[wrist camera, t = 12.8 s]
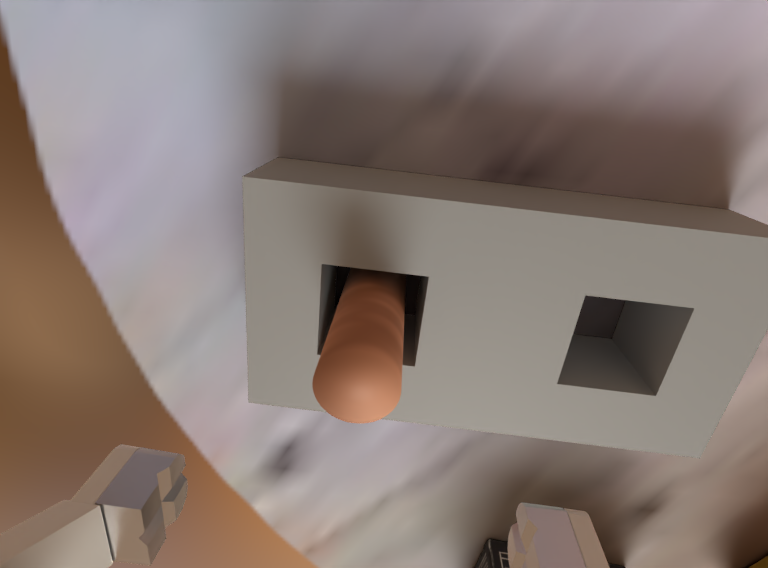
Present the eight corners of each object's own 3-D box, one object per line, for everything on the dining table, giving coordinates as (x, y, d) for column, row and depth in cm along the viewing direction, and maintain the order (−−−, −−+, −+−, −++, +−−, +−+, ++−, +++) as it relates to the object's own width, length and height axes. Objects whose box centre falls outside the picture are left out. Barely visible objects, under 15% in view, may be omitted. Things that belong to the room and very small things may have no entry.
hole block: (728, 209, 22) (813, 243, 17) (650, 393, 26) (699, 458, 22) (278, 157, 22) (242, 176, 17) (276, 347, 26) (248, 402, 22)
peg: (409, 250, 24) (406, 356, 14) (402, 301, 25) (396, 428, 16) (352, 243, 24) (313, 344, 14) (348, 294, 25) (311, 417, 16)
